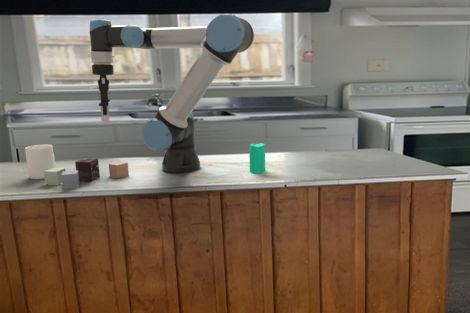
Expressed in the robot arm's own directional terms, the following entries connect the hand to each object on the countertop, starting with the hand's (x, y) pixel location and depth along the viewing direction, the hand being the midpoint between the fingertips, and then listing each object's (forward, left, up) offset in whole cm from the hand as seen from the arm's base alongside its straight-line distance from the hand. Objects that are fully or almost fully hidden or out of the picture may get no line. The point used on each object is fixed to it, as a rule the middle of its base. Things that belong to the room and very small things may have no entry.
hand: (105, 121), depth 155 cm
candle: (-55, -17, -21) cm, 61 cm away
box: (+2, +10, -21) cm, 23 cm away
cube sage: (+11, +17, -20) cm, 29 cm away
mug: (+23, +10, -21) cm, 33 cm away
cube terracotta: (-6, +3, -20) cm, 21 cm away
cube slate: (+2, +19, -20) cm, 28 cm away
